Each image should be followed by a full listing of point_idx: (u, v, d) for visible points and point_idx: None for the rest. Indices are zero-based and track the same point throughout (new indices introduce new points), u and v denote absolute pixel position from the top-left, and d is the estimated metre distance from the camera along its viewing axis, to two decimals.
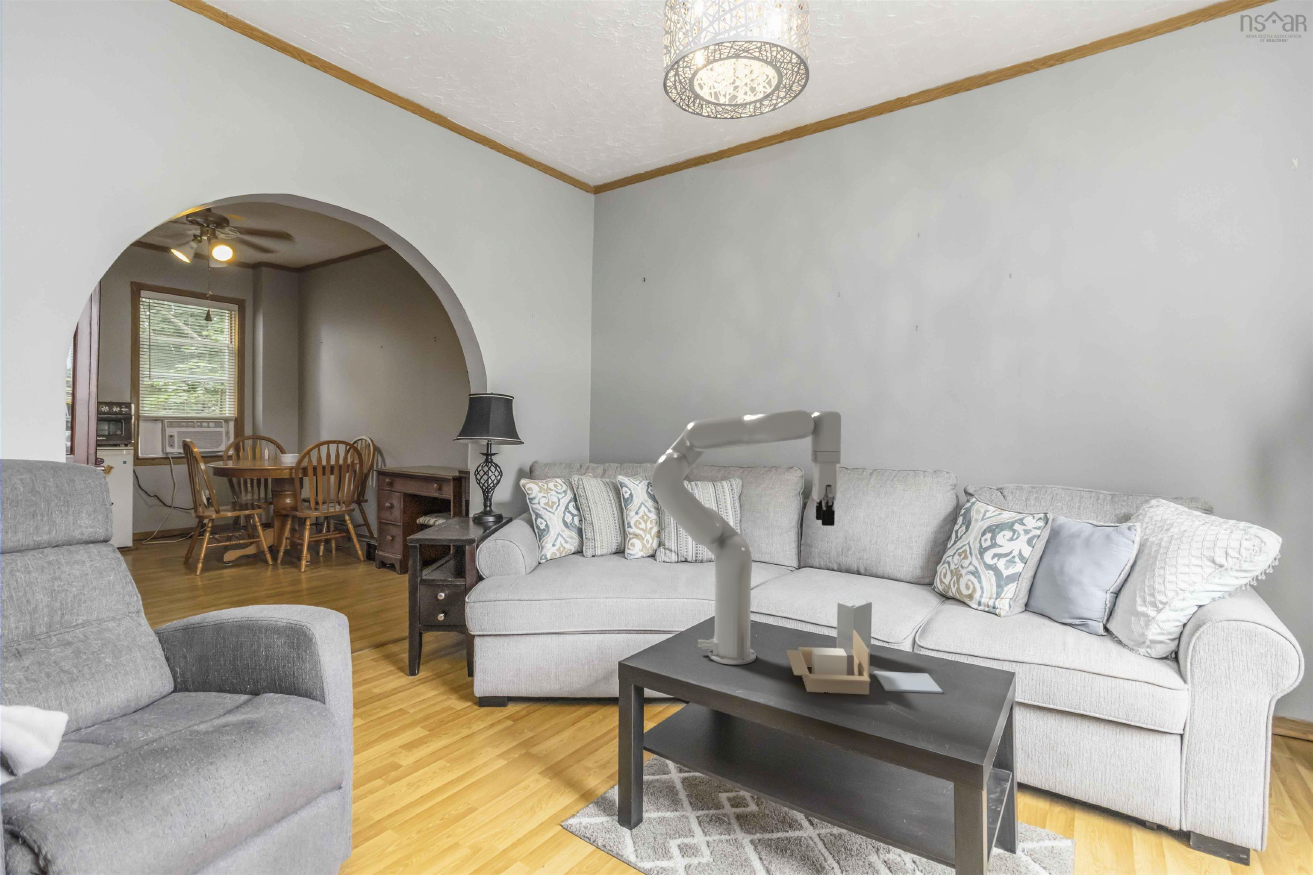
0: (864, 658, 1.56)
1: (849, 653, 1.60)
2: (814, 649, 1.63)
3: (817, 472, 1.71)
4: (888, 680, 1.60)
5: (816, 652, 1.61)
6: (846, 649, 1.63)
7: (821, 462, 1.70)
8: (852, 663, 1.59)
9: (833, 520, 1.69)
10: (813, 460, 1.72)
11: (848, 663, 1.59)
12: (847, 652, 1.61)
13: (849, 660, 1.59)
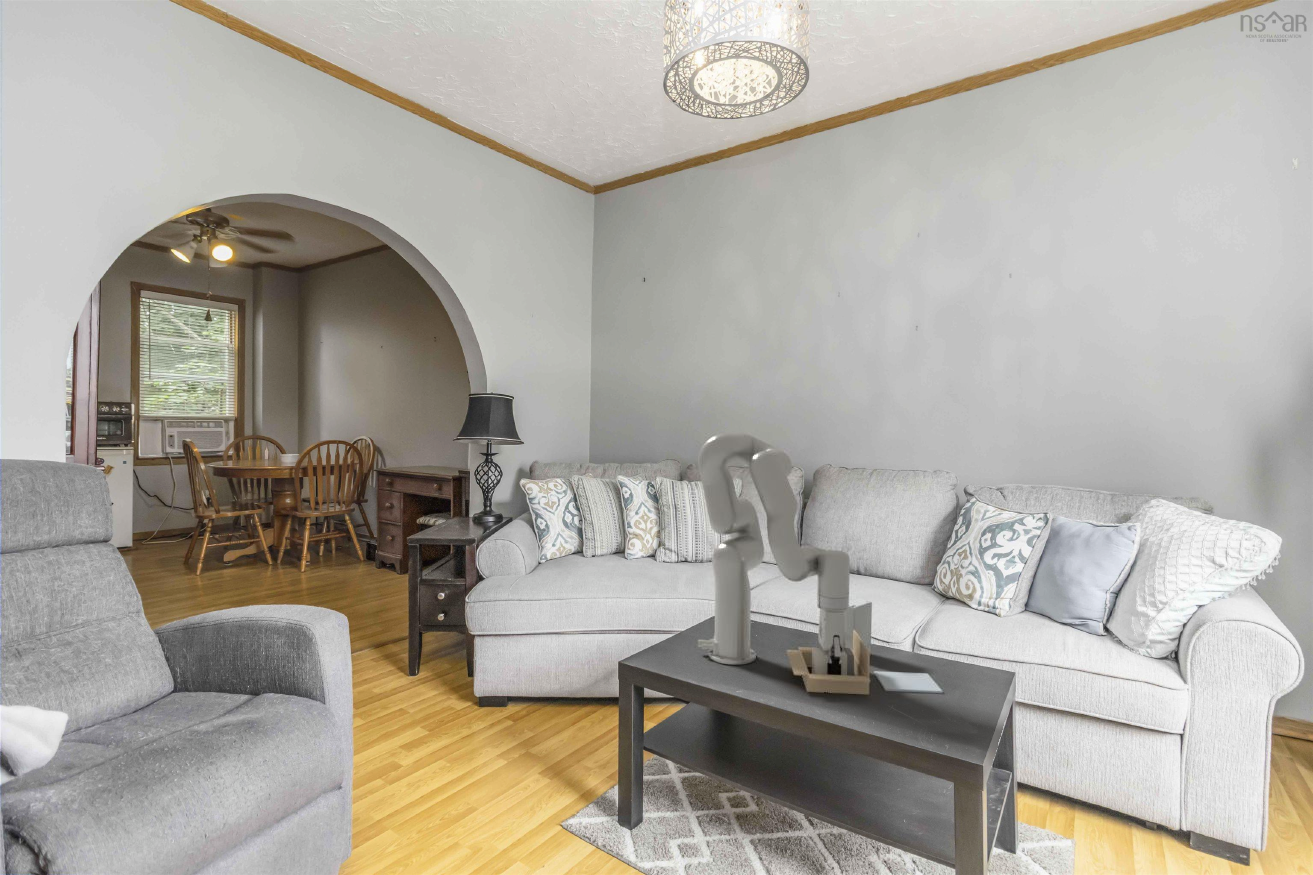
0: (864, 658, 1.56)
1: (849, 653, 1.60)
2: (814, 649, 1.63)
3: (824, 619, 1.59)
4: (888, 680, 1.60)
5: (816, 652, 1.61)
6: (846, 649, 1.63)
7: (828, 609, 1.58)
8: (852, 663, 1.59)
9: (840, 674, 1.59)
10: (819, 605, 1.60)
11: (848, 663, 1.59)
12: (847, 651, 1.61)
13: (849, 660, 1.59)
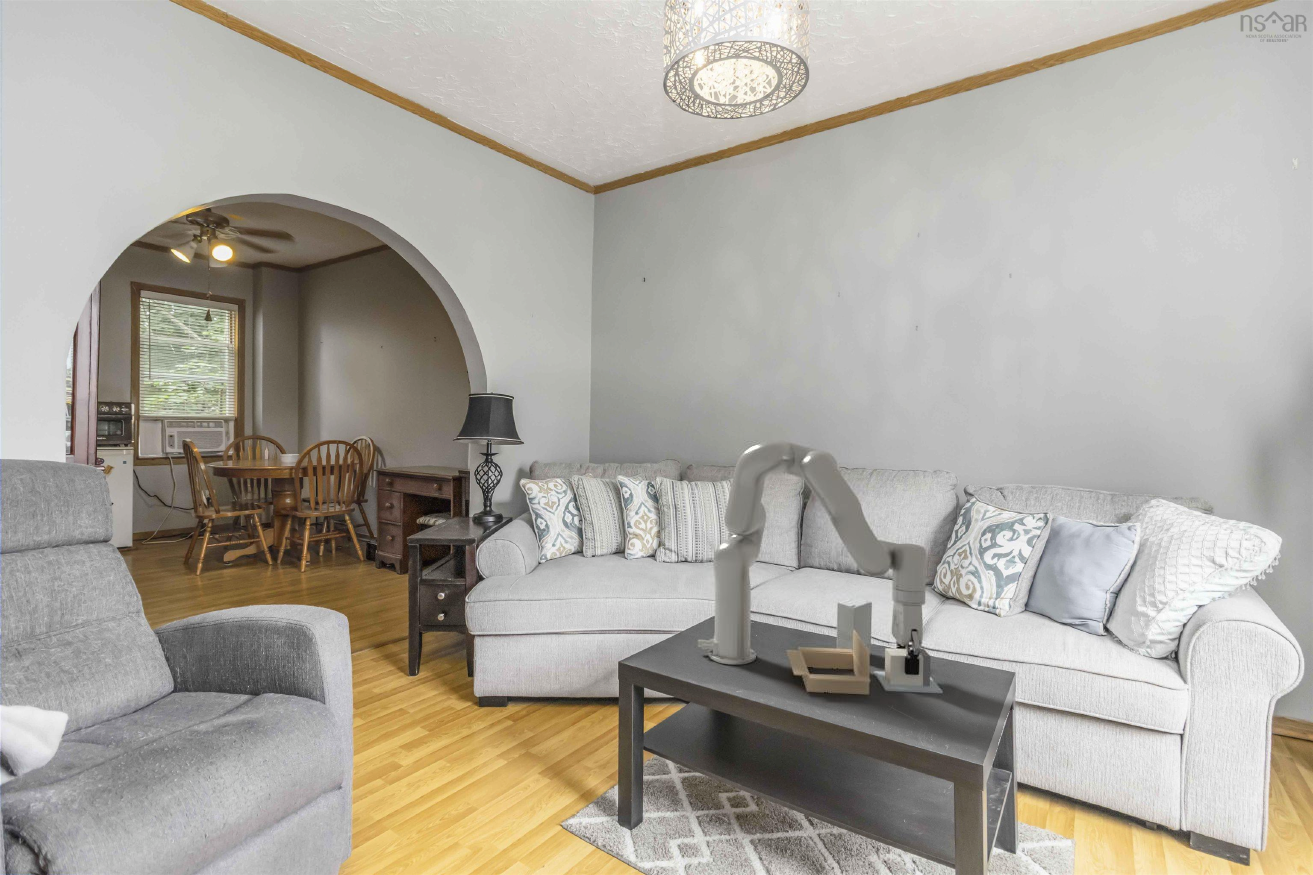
0: (864, 658, 1.56)
1: (925, 654, 1.58)
2: (888, 650, 1.61)
3: (901, 613, 1.57)
4: None
5: (891, 653, 1.59)
6: (920, 650, 1.61)
7: (905, 603, 1.57)
8: (928, 664, 1.57)
9: (918, 669, 1.56)
10: (895, 599, 1.59)
11: (924, 664, 1.57)
12: (923, 652, 1.59)
13: (925, 661, 1.57)
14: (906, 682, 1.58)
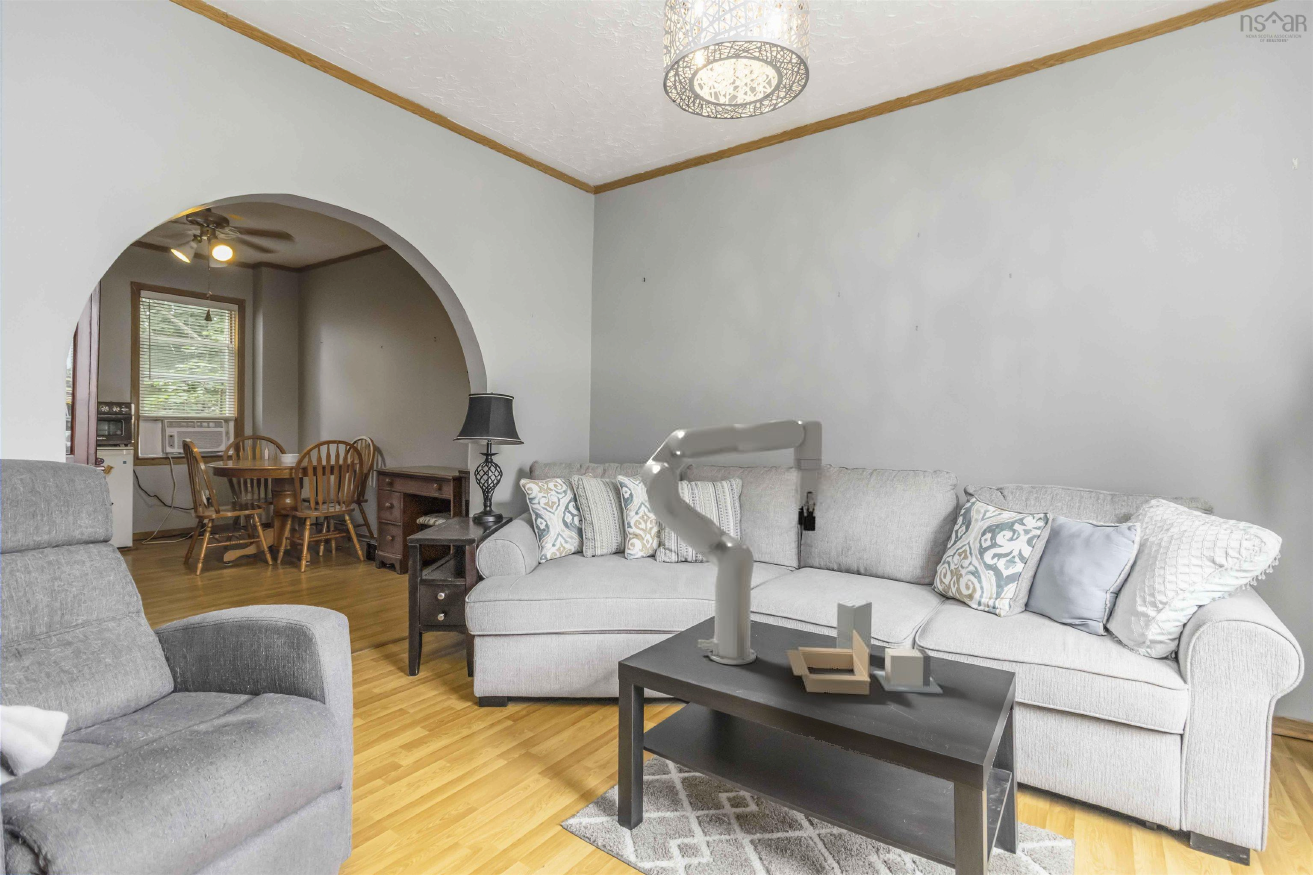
0: (864, 658, 1.56)
1: (925, 654, 1.58)
2: (888, 650, 1.61)
3: (799, 479, 1.77)
4: None
5: (891, 653, 1.59)
6: (920, 650, 1.61)
7: (803, 470, 1.77)
8: (928, 664, 1.57)
9: (814, 525, 1.75)
10: (795, 467, 1.79)
11: (924, 664, 1.57)
12: (923, 652, 1.59)
13: (925, 661, 1.57)
14: (906, 682, 1.58)
